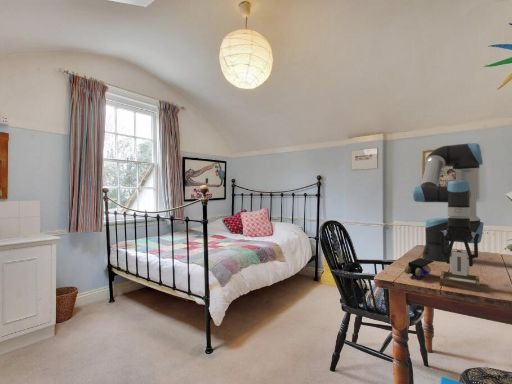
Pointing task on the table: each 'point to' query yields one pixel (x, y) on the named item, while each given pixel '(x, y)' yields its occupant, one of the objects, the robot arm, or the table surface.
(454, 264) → the strip block
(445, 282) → the brown wooden square tray
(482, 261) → the table surface
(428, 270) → the figurine character
